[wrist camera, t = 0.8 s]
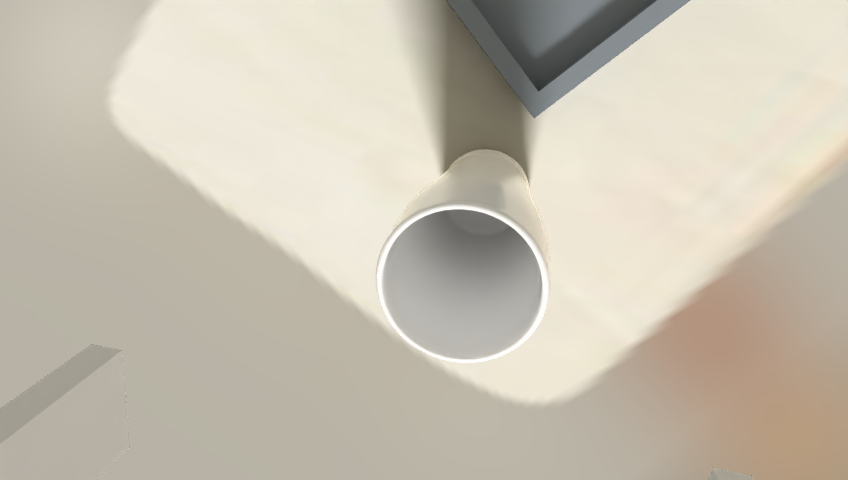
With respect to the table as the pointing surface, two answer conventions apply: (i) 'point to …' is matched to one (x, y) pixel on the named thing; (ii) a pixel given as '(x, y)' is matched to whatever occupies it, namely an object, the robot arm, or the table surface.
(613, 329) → the table surface
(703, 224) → the table surface
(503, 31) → the grey tray
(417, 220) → the white cup
